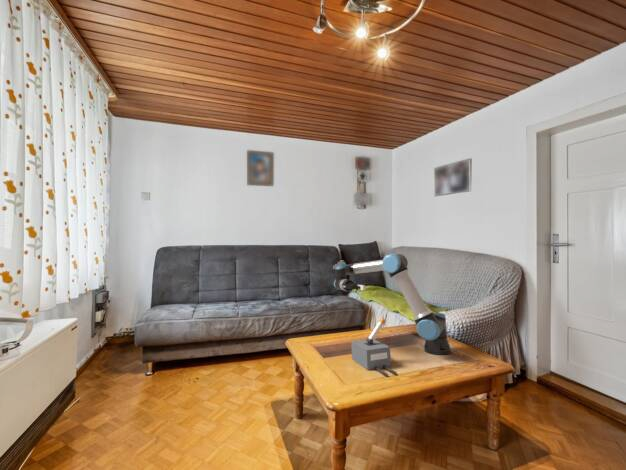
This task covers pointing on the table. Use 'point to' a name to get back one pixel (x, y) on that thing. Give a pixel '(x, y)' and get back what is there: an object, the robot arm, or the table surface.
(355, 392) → the table surface
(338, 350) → the table surface
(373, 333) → the breaker lever
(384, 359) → the grey power plug
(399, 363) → the table surface
